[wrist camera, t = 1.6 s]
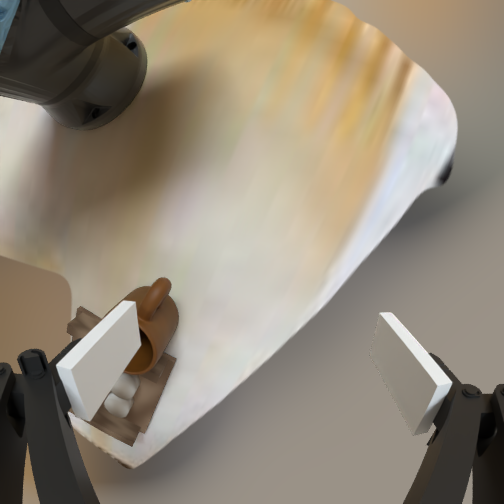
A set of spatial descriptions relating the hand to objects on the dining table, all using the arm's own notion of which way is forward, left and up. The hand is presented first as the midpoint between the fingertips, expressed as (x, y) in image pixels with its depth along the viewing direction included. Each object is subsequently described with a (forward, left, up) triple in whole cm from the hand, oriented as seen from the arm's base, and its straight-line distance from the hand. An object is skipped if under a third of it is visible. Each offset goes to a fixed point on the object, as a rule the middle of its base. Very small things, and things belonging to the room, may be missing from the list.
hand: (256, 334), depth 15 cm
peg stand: (-11, -28, -20) cm, 36 cm away
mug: (-8, -11, -20) cm, 24 cm away
